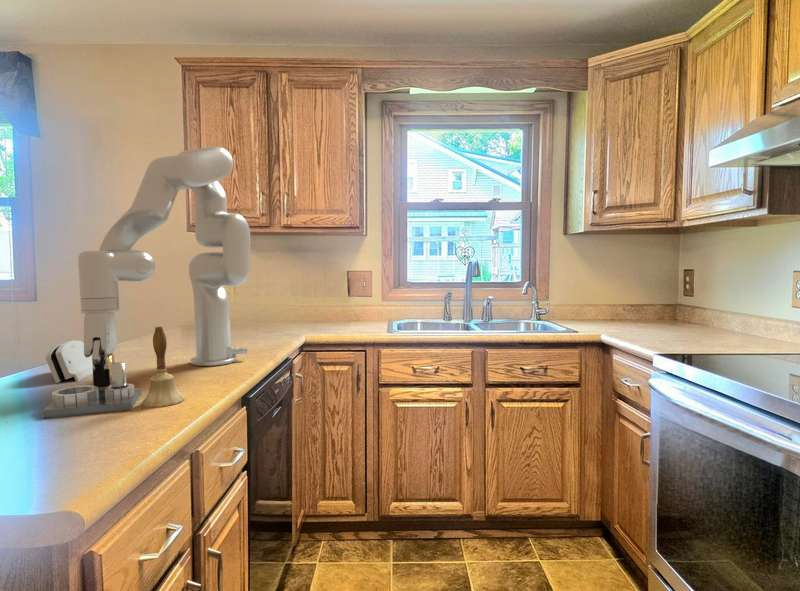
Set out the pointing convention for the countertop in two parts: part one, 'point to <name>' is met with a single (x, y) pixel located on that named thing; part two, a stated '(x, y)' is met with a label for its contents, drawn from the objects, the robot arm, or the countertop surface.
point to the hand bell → (161, 377)
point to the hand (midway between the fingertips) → (104, 383)
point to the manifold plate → (93, 406)
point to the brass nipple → (110, 361)
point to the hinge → (69, 361)
